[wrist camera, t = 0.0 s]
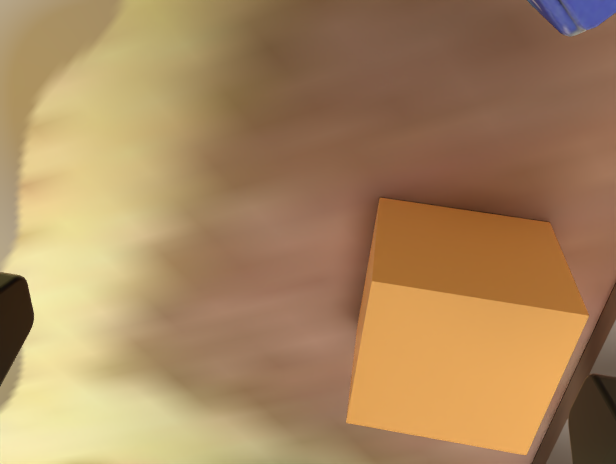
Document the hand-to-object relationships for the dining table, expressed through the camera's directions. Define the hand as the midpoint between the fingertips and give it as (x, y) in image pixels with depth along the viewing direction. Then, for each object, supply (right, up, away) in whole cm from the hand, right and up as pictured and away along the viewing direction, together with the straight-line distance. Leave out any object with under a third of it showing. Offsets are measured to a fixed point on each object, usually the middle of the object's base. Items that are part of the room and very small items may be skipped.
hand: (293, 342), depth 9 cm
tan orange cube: (+6, 0, +16) cm, 18 cm away
